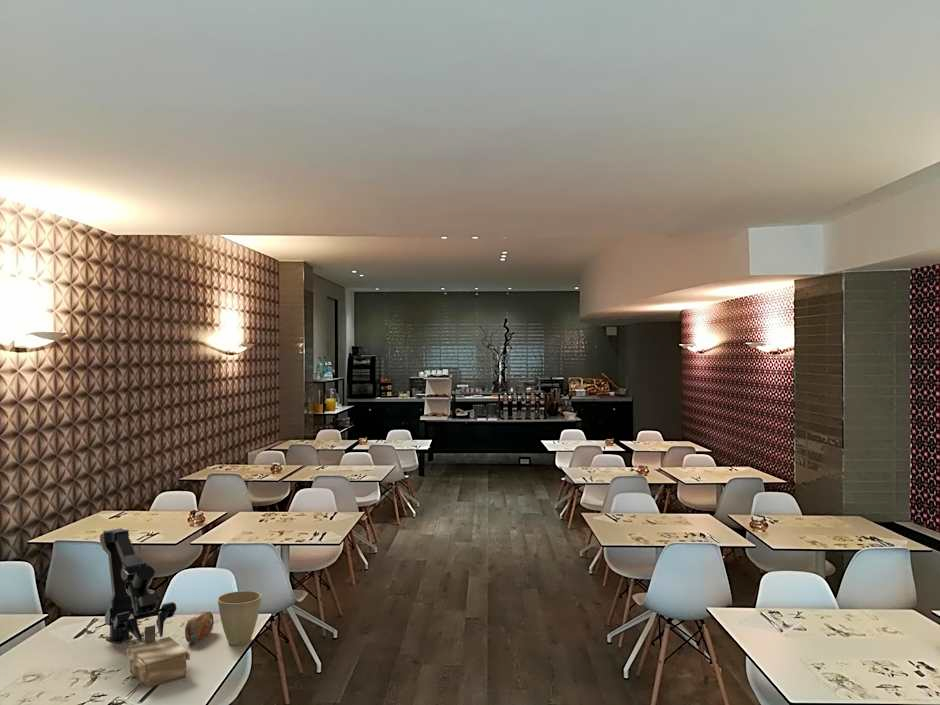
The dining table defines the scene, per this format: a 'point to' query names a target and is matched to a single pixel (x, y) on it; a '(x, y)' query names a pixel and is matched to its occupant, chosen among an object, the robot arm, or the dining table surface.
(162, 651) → the carton lid
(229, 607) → the plant pot
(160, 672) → the carton
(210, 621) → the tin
